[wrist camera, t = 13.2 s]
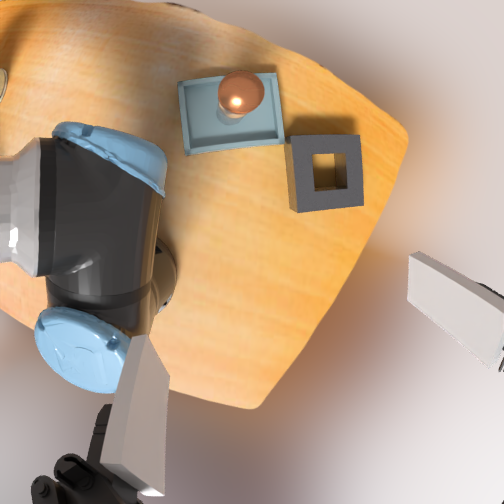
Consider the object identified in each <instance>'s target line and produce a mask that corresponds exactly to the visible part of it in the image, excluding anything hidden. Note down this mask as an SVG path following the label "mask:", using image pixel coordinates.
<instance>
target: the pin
mask: <svg viewBox="0 0 504 504" xmlns="http://www.w3.org/2000/svg"><path fill="white" fill-rule="evenodd" d="M264 95H265V89H264V85H263V83H262V81H261V80H260V79H259V78H258V77H257V76H256V75H255V74H253V73H251V72H248V71H234V72H231V73H229V74H227V75H226V76H225V77H224V78H223V79H222V80H221V82H220V84H219V88H218V100H219V101H218V106H217V110H216V115H217V118H218V120H219V121H220V122H221V123H223V124H225V125H235V124H237V123H239V122H240V121H241V120H242V119H243V118H244V117H245V116H246V115H247V113H250V112H252V111H253V110H255V109H256V108H257V107H258V106H259V105H260V104H261V102H262V101H263V98H264Z"/></svg>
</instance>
